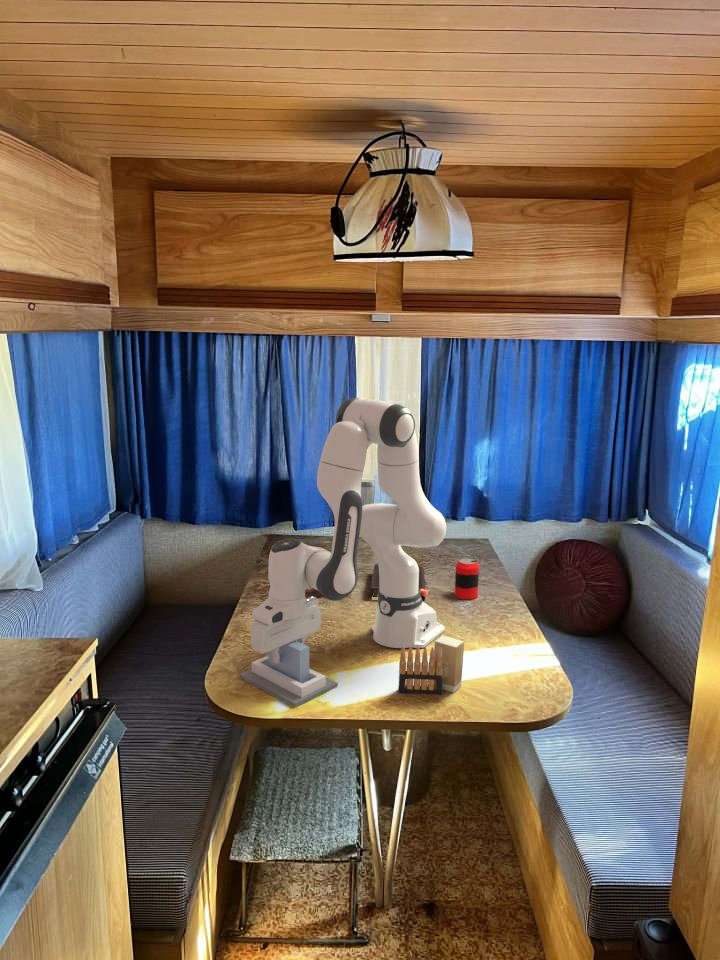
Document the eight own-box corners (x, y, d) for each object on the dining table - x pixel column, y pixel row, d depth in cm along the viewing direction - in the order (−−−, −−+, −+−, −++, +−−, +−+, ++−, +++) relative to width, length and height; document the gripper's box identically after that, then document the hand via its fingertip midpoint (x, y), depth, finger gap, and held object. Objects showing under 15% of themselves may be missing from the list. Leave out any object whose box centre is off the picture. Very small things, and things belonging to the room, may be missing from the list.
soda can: (479, 600, 236) (481, 565, 234) (456, 600, 236) (457, 565, 234) (475, 591, 244) (477, 557, 241) (453, 591, 243) (454, 557, 241)
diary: (423, 578, 259) (424, 564, 257) (425, 604, 234) (425, 589, 233) (371, 575, 260) (372, 562, 259) (367, 601, 235) (368, 587, 234)
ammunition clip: (441, 691, 177) (443, 645, 175) (442, 695, 176) (443, 649, 173) (398, 689, 178) (399, 644, 176) (398, 693, 176) (399, 647, 174)
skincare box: (431, 686, 180) (433, 640, 177) (439, 679, 183) (441, 634, 181) (454, 693, 176) (456, 647, 174) (462, 686, 180) (464, 640, 177)
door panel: (277, 668, 186) (276, 632, 184) (309, 684, 178) (309, 646, 176) (268, 672, 184) (267, 636, 182) (300, 688, 176) (299, 650, 174)
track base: (281, 659, 193) (281, 647, 193) (337, 686, 179) (337, 673, 179) (239, 677, 183) (239, 665, 183) (295, 707, 169) (295, 694, 169)
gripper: (309, 591, 186) (309, 640, 189) (246, 613, 172) (247, 667, 175) (326, 597, 182) (326, 648, 185) (263, 621, 168) (264, 675, 171)
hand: (287, 657), depth 180 cm, fingers open, 5 cm apart
